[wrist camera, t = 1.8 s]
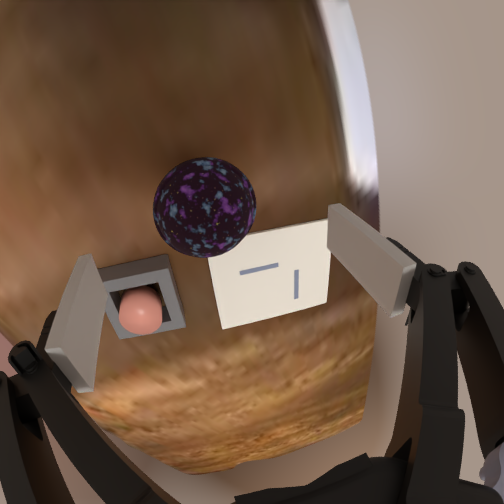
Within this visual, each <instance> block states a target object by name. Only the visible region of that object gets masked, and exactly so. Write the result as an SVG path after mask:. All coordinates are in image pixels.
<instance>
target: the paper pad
mask: <svg viewBox="0 0 504 504" xmlns="http://www.w3.org/2000/svg"><path fill="white" fill-rule="evenodd" d="M327 229H328V218H326V219H321V220H316V221H310V222H305V223H300V224H294V225H289V226H284V227H279V228H274V229H269V230H264V231H258V232H253V233H248V234H247V235H246V236H245V237H244V239H243V240H242V241H241V242H240V243H239V244H238V245H237V246H236V247H234V248H233V249H231V250H230V251H228V252H226V253H224V254H222V255H219V256H215V257H209V258H208V262H209V267H210V272H211V277H212V282H213V287H214V292H215V297H216V302H217V307H218V311H219V316H220V321H221V325H222V329H226V328H231V327H235V326H239V325H243V324H247V323H252V322H256V321H260V320H264V319H268V318H272V317H275V316H279V315H283V314H287V313H291V312H294V311H298V310H302V309H305V308H309V307H312V306H316V305H319V304H323V303H326V301H327V291H328V280H329V268H330V255H331V251H330V250H329V249H328V248H327Z"/></svg>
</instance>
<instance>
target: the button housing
mask: <svg viewBox="0 0 504 504" xmlns="http://www.w3.org/2000/svg"><path fill="white" fill-rule="evenodd" d="M97 270H98V272H99V275H100V277H101V280H102V282H103V284H104V287H105V289H106V291H107V294H108V297H107V302H106V307H105V312H106V314H107V316H108V318H109V320H110V322H111V324H112V326H113V327H114V329H115V331H116V333H117V335H118V337H119V339H125V338H131V337H136V336H142V335H140V334H134V333H131V332H129V331H128V330H126V329H125V328H124V327H123V326H122V325H121V323H120V321H119V310H120V303H121V297H120V295H119V293H118V290H123V289H128V288H133V287H137V286H142V285H147V284H152V283H157V282H158V283H159V286H160V289H161V292H162V295H163V298H164V301H165V304H166V306H164V307H162V324H161V326H160V327H159V328H158V329H157V330H156V331H155V332H153V333H158V332H163V331H168V330H174V329H178V328H183V327H186V323H185V315H184V310H183V306H182V303H181V300H180V296H179V293H178V290H177V286H176V283H175V279H174V276H173V272H172V268H171V265H170V261H169V257H168V254H165V255H161V256H156V257H151V258H147V259H142V260H138V261H133V262H128V263H124V264H119V265H115V266H110V267H106V268H101V269H97ZM153 333H150V334H153ZM145 335H147V334H145Z"/></svg>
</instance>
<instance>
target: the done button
mask: <svg viewBox="0 0 504 504" xmlns="http://www.w3.org/2000/svg"><path fill="white" fill-rule="evenodd" d="M119 321H120V323H121V325H122V326H123V327H124V328H125V329H126V330H128V331H129V332H131V333H134V334H140V335H145V334H150V333H153V332H155V331H156V330H157V329H158V328H159V327H160V326H161V324H162V301H161V297H160V295H159V294H158V293H157V292H156V291H155V290H154V289H152V288H151V287H148V286H144V285H142V286H137V287H133V288H128V289H126V290H125V291H124V293H123V294H122V297H121V303H120V310H119Z"/></svg>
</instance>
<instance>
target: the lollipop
mask: <svg viewBox="0 0 504 504" xmlns="http://www.w3.org/2000/svg"><path fill="white" fill-rule="evenodd" d="M255 214H256V198H255V193H254V190H253V188H252V186H251V184H250V182H249V180H248V179H247V177H246V176H245V175H244V174H243V173H242V172H241V171H240V170H239V169H238V168H237V167H235V166H234V165H232V164H230V163H228V162H226V161H224V160H221V159H217V158H210V157H202V158H195V159H191V160H188V161H185V162H183V163H181V164H179V165H178V166H176V167H175V168H173V169H172V170H171V171H170V172H169V173H168V174H167V175H166V176H165V177H164V178H163V180H162V181H161V183H160V184H159V186H158V188H157V191H156V193H155V197H154V202H153V217H154V222H155V225H156V228H157V230H158V232H159V234H160V236H161V237H162V238H163V240H164V241H165V242H166V243H167V244H168V245H169V246H170V247H172V248H173V249H175V250H176V251H178V252H180V253H183V254H185V255H189V256H194V257H200V258H209V257H215V256H219V255H222V254H224V253H226V252H228V251H230V250H231V249H233V248H234V247H236V246H237V245H238V244H239V243H240V242H241V241H242V240H243V239H244V237H245V236H246V235H247V233H248V232H249V230H250V229H251V227H252V224H253V222H254V219H255Z"/></svg>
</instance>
